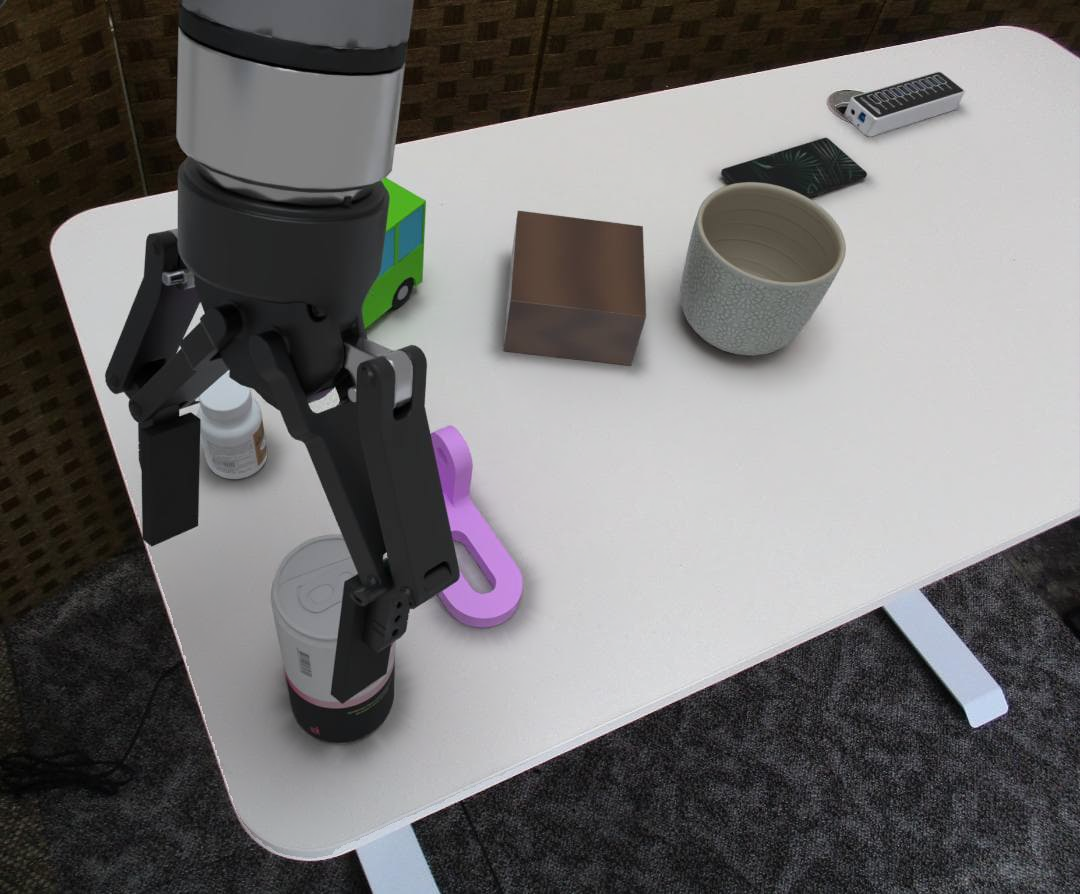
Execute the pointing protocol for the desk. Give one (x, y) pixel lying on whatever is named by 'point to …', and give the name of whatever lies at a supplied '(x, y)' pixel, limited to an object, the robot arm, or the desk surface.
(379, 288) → the toy car
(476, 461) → the desk surface
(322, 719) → the beverage can
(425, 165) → the desk surface
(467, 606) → the bracket
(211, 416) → the pill bottle
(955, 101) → the multiport hub
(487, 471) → the desk surface
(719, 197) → the planter
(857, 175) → the smartphone
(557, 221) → the riser
